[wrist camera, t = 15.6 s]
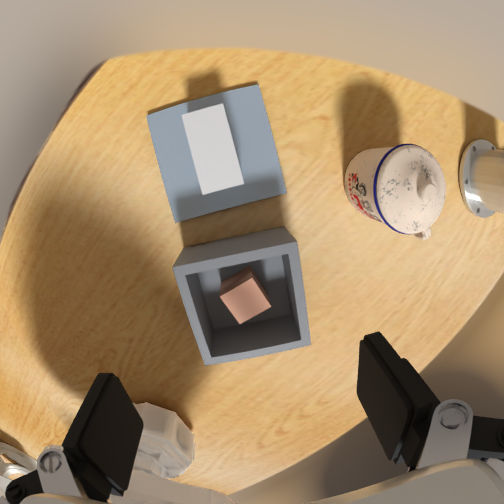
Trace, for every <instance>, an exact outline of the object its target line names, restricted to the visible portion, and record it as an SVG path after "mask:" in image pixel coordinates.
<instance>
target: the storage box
mask: <svg viewBox="0 0 504 504" xmlns="http://www.w3.org/2000/svg"><path fill="white" fill-rule="evenodd" d="M249 265H250V266H251V268H252V269H253V271H254V272H255V274H256V275H257V277H258V278H259V280H260V281H261V283H262V284H263V286H264V287H265V289H266V291H267V293H268V296H269V300H270V303H271V307H270V308H268V309H266V310H265V311H263V312H261V313H259V314H258V315H256V316H254V317H252V318H250V319H248V320H247V321H245V322H243V323H241V324H239V322H238V321H237V320H236V318H235V317H234V316H233V314H232V313H231V311H230V310H229V309H228V307H227V306H226V305H225V303H224V302H223V301H222V299H221V298H220V287H221V282H222V281H224V280H226V279H227V278H229V277H231V276H232V275H234V274H236V273H237V272H239V271H241V270H242V269H244V268H246V267H248V266H249ZM172 268H173V271H174V275H175V278H176V281H177V284H178V288H179V291H180V294H181V297H182V300H183V304H184V307H185V310H186V313H187V316H188V319H189V322H190V325H191V328H192V331H193V333H194V336H195V339H196V342H197V345H198V348H199V350H200V353H201V356H202V359H203V361H204V364H205V366H206V365H213V364H219V363H226V362H231V361H237V360H243V359H248V358H254V357H259V356H264V355H269V354H273V353H278V352H283V351H287V350H292V349H296V348H300V347H304V346H308V345H311V341H310V332H309V324H308V315H307V307H306V300H305V292H304V285H303V278H302V271H301V264H300V257H299V250H298V244H297V241H296V240H295V238H294V237H293V236H292V235H291V234H290V233H289V231H288V230H287V229H286V228H285V227H279V228H274V229H269V230H264V231H259V232H254V233H250V234H245V235H240V236H235V237H230V238H226V239H221V240H216V241H212V242H207V243H202V244H198V245H193V246H188V247H184V248H183V250H182V252H181V253H180V255H179V257H178V258H177V260H176V262H175V264H174V265H173V267H172Z"/></svg>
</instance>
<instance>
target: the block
mask: <svg viewBox="0 0 504 504" xmlns="http://www.w3.org/2000/svg"><path fill="white" fill-rule="evenodd" d="M220 298H221V299H222V301H223V302H224V303H225V305H226V306H227V307H228V309H229V310H230V311H231V313H232V314H233V316H234V317H235V318H236V320H237V321H238V322H239V324H241V323H243V322H245V321H247V320H248V319H250V318H252V317H254V316H256V315H258V314H259V313H261V312H263V311H265V310H266V309H268V308H270V307H271V303H270V300H269V296H268V293H267V291H266V289H265V287H264V286H263V284H262V283H261V281H260V280H259V278H258V277H257V275H256V274H255V272H254V271H253V269H252V268H251V266H250V265H249V266H248V267H246V268H244V269H242V270H241V271H239V272H237V273H236V274H234V275H232V276H231V277H229V278H227V279H226V280H224V281H222V282H221V287H220Z"/></svg>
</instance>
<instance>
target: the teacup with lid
mask: <svg viewBox="0 0 504 504" xmlns="http://www.w3.org/2000/svg"><path fill="white" fill-rule="evenodd" d="M344 183H345V191H346V195H347V198H348V200H349V202H350V203H351V205H352V206H353V207H354V208H355V209H356V210H357V211H358V212H359V213H361V214H363V215H365V216H367V217H369V218H372V219H374V220H377V221H379V222H382V223H384V224H386V225H388V226H389V227H390V228H391V229H393V230H394V231H396V232H399V233H402V234H413V235H414V236H416V237H417V238H419V239H421V240H427V239H428V238H429V237H430V235H431V228H430V226H431V225H432V224H433V223H434V222H435V221H436V219H437V218H438V216H439V215H440V213H441V211H442V208H443V205H444V201H445V194H446V186H445V179H444V175H443V172H442V169H441V167H440V165H439V163H438V162H437V160H436V159H435V158H434V156H433V155H432V154H431V153H430V152H428V151H427V150H426V149H424V148H422V147H420V146H418V145H414V144H401V145H398V146H396V147H386V148H374V149H367V150H364V151H362V152H360V153H358V154H357V155H356V156H355V157H354V158H353V159H352V160H351V162H350V163H349V165H348V167H347V170H346V173H345V181H344Z"/></svg>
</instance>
